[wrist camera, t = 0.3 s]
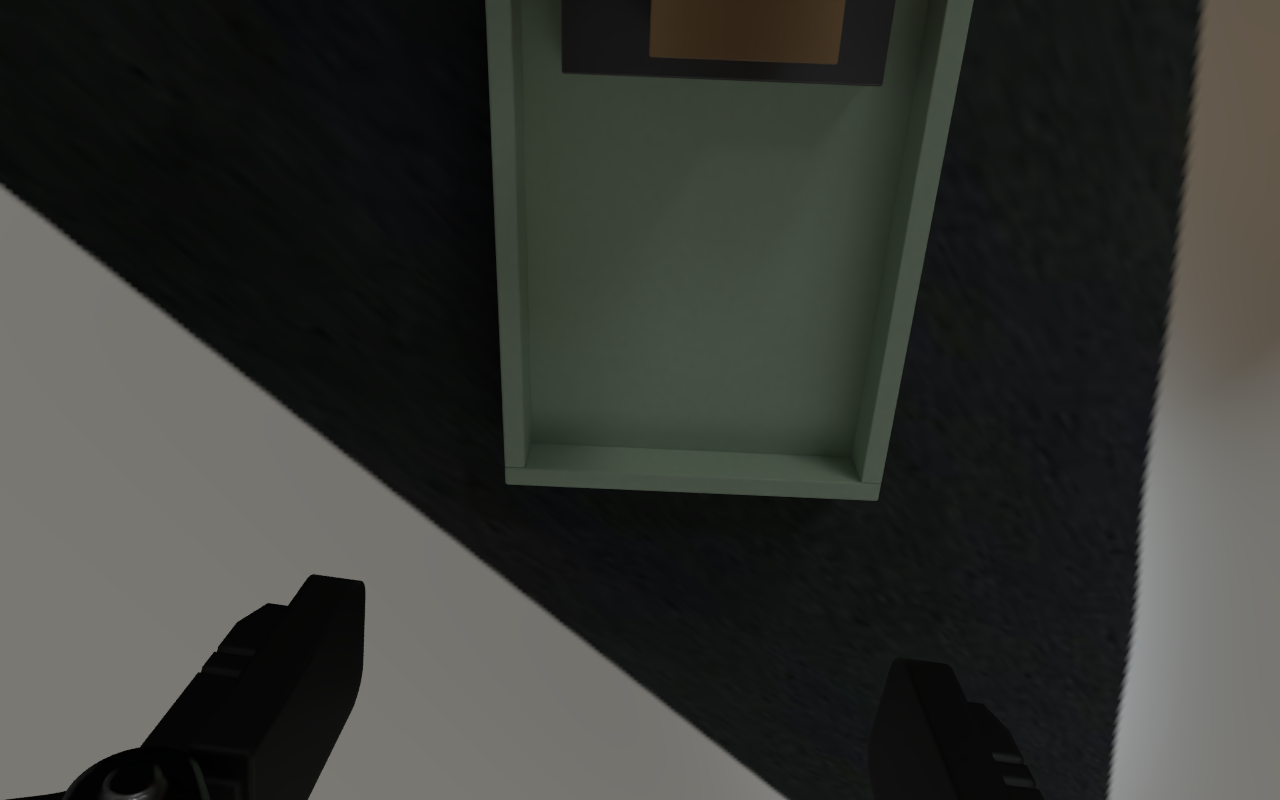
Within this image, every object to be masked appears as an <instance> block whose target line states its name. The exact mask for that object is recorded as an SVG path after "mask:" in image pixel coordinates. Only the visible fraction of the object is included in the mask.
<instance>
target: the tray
mask: <svg viewBox="0 0 1280 800" xmlns="http://www.w3.org/2000/svg"><path fill="white" fill-rule="evenodd" d="M973 1H974V0H896V1H895V8H894V14H893V21H892V27H891V34H890V40H889V47H888V53H887V60H886V66H885V72H884V79H883V84H882V86H880V87H878V86H853V85H829V84H804V83H780V82H755V81H731V80H706V79H681V78H657V77H632V76H608V75H583V74H564V73H562V46H561V0H485V5H486V29H487V52H488V76H489V100H490V124H491V148H492V171H493V195H494V219H495V243H496V266H497V290H498V314H499V338H500V362H501V385H502V409H503V433H504V457H505V482H506V484H513V485H536V486H558V487H581V488H603V489H626V490H648V491H671V492H693V493H716V494H738V495H760V496H783V497H805V498H828V499H850V500H873V501H877V500H878V496H879V491H880V486H881V484H880V483H881V481H882V476H883V470H884V465H885V460H886V455H887V450H888V444H889V439H890V434H891V429H892V423H893V418H894V413H895V408H896V403H897V397H898V392H899V387H900V382H901V377H902V371H903V366H904V361H905V356H906V350H907V345H908V340H909V335H910V330H911V324H912V319H913V314H914V309H915V303H916V298H917V293H918V288H919V283H920V277H921V272H922V267H923V262H924V257H925V251H926V246H927V241H928V236H929V230H930V225H931V220H932V215H933V210H934V204H935V199H936V194H937V189H938V183H939V178H940V173H941V168H942V163H943V157H944V152H945V147H946V142H947V137H948V131H949V126H950V121H951V116H952V110H953V105H954V100H955V95H956V90H957V84H958V79H959V74H960V69H961V63H962V58H963V53H964V48H965V43H966V37H967V32H968V27H969V22H970V17H971V11H972V6H973Z"/></svg>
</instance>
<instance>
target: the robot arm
mask: <svg viewBox="0 0 1280 800" xmlns="http://www.w3.org/2000/svg"><path fill="white" fill-rule="evenodd" d="M364 621H365V585H364V583H363V582H362V581H358V580H350V579H343V578H336V577H329V576H322V575H314V574H313V575H310V576H309V577H308V578H307V580H306V581H305V582H304V584H303V585H302V587H301V588H300V590H299V591H298V593H297V594H296V595H295V597H294V598H293V600H292V601H291V602H290V604H289V605H288V606H285V605H278V604H270V603H268V604H266V605H264V606H262V607H261V608H259V609H258V610H256V611H254V612H253V613H251V614H250V615H248V616H246V617H245V618H243V619H242V620H240V621H239V622H237V623H236V625H235V626H234V627H233V628H232V630H231V631H230V632H229V634H228V635H227V636H226V638H225V639H224V640H223V641H222V643H221V644H220V645H219V646H218V650H217V652H214V653H213V654H212V655H211V657H210V658H209V659H208V660H207V662H206V663H205V664H204V666H203V667H202V671H201V673H199V672H198V673H197V675H196V676H195V677H194V678H193V680H192V681H191V682H190V684H189V685H188V686H187V687H186V689H185V690H184V691H183V693H182V694H181V695H180V697H179V698H178V699H177V700H176V702H175V703H174V704H173V705H172V707H171V708H170V709H169V711H168V712H167V713H166V715H165V716H164V717H163V718H162V720H161V721H160V722H159V723H158V725H157V726H156V727H155V729H154V730H153V731H152V733H151V734H150V735H149V736H148V738H147V739H146V740H145V742H144V743H143V744H142V745H141V747H140V748H135V749H130V750H126V751H123V752H120V753H117V754H114V755H112V756H110V757H107V758H105V759H103V760H101V761H99V762H98V763H96V764H94V765H93V766H91V767H90V768H88V769H87V770H86V771H84V772H83V773H82V774H81V775H80V776H79V777H78V778H77V779H76V780H75V781H74V782H73V783H72V784H71V785H70V787H69V788H68V790H67V791H64V792H60V793H54V794H48V795H40V796H32V797H24V798H16V799H7V800H308V798H309V796H310V794H311V792H312V790H313V788H314V786H315V784H316V782H317V779H318V778H319V776H320V774H321V771H322V770H323V768H324V766H325V764H326V762H327V759H328V757H329V756H330V753H331V751H332V749H333V747H334V745H335V743H336V741H337V739H338V737H339V735H340V733H341V731H342V729H343V727H344V725H345V723H346V721H347V719H348V717H349V715H350V713H351V711H352V708H353V706H354V704H355V701H356V698H357V695H358V691H359V687H360V683H361V677H362V671H363V653H364V623H365V622H364ZM1023 761H1024V759H1023V757H1022V755H1021V753H1020V751H1019V749H1018V747H1017V745H1016V743H1015V741H1014V739H1013V737H1012V735H1011V733H1010V731H1009V730H1008V729H1007V728H1006V727H1005V726H1004V725H1003V724H1002V723H1001V722H1000V721H999V720H998V719H997V718H996V717H995V716H994V715H993V714H992V713H991V712H990V711H989V710H988V709H987V708H986V707H985V706H984V705H983V704H981V703H973V702H968V701H967V699H966V697H965V695H964V693H963V691H962V689H961V686H960V684H959V682H958V680H957V678H956V676H955V674H954V671H953V670H952V668H951V667H950V666H949V665H948V664H942V663H935V662H928V661H921V660H914V659H906V658H896V659H895V660H894V662H893V663H892V666H891V668H890V671H889V674H888V678H887V681H886V684H885V688H884V691H883V694H882V698H881V701H880V704H879V708H878V711H877V714H876V718H875V721H874V724H873V728H872V731H871V734H870V738H869V743H868V752H867V770H868V778H869V783H870V786H871V790H872V794H873V797H874V800H1044V798H1043V796H1042V794H1041V792H1040V790H1039V789H1036V782H1035V780H1034V778H1033V777H1032V775H1031V773H1030V771H1029V769H1028V767H1027V765H1024V763H1023Z"/></svg>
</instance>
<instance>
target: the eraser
mask: <svg viewBox="0 0 1280 800" xmlns="http://www.w3.org/2000/svg"><path fill="white" fill-rule="evenodd" d="M895 1H896V0H561V46H562V73H564V74H583V75H608V76H632V77H657V78H681V79H706V80H731V81H755V82H780V83H804V84H829V85H853V86H878V87H880V86H882V84H883V79H884V72H885V66H886V60H887V53H888V47H889V40H890V34H891V27H892V21H893V14H894V8H895Z"/></svg>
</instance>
